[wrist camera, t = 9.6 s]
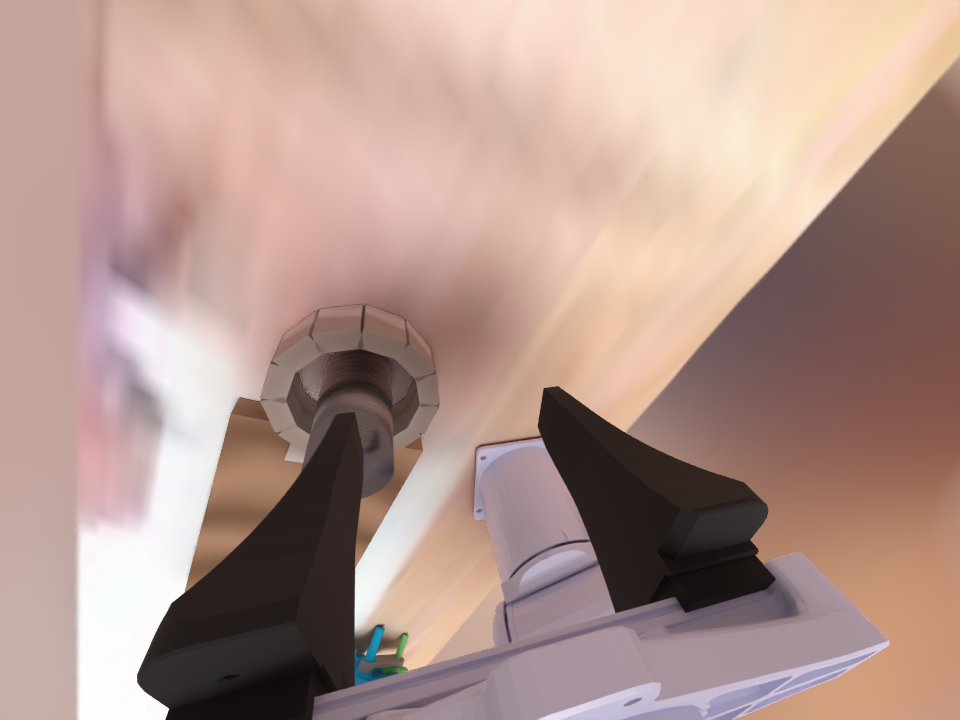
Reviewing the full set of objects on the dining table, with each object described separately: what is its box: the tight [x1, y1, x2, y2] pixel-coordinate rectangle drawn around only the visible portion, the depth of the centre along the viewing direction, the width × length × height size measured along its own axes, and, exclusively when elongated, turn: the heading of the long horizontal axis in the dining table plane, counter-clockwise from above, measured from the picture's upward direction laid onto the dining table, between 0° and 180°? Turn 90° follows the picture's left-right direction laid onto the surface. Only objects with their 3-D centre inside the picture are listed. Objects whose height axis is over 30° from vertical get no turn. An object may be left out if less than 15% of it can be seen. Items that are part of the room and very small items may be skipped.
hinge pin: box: [301, 349, 394, 499], centre depth 19 cm, size 4×4×8 cm
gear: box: [355, 626, 408, 686], centre depth 40 cm, size 11×6×10 cm
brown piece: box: [185, 304, 440, 592], centre depth 25 cm, size 29×12×3 cm, turn 152°
